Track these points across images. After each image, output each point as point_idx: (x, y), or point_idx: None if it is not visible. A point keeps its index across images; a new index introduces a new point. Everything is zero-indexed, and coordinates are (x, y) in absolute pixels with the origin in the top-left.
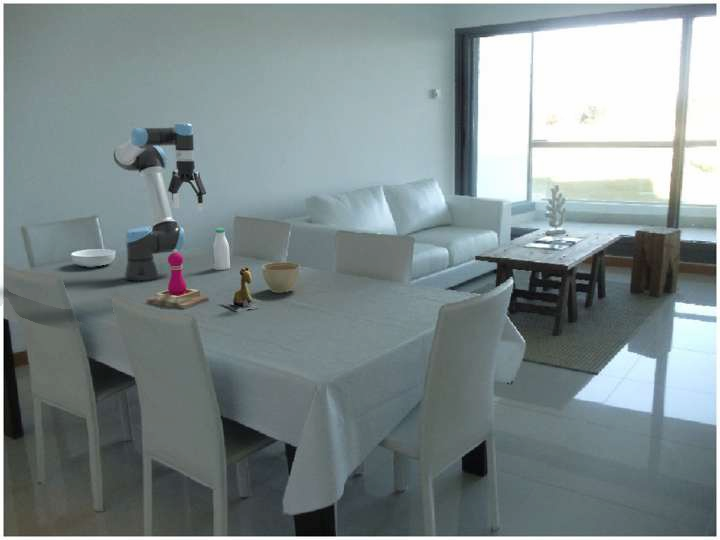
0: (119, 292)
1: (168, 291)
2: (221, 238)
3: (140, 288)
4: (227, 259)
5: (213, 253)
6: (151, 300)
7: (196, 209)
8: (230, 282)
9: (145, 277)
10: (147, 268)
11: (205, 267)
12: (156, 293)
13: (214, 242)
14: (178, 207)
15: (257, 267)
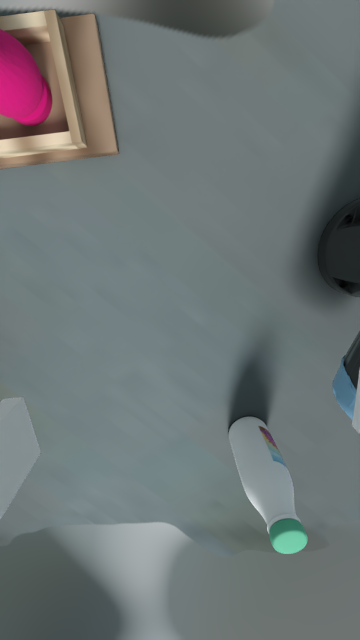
0: (284, 63)
1: (60, 82)
2: (264, 502)
3: (266, 149)
4: (233, 453)
5: (273, 449)
6: (74, 18)
7: (9, 408)
8: (113, 351)
9: (331, 227)
10: (348, 240)
11: (294, 419)
12: (51, 14)
13: (281, 479)
14: (357, 419)
15: (186, 480)
